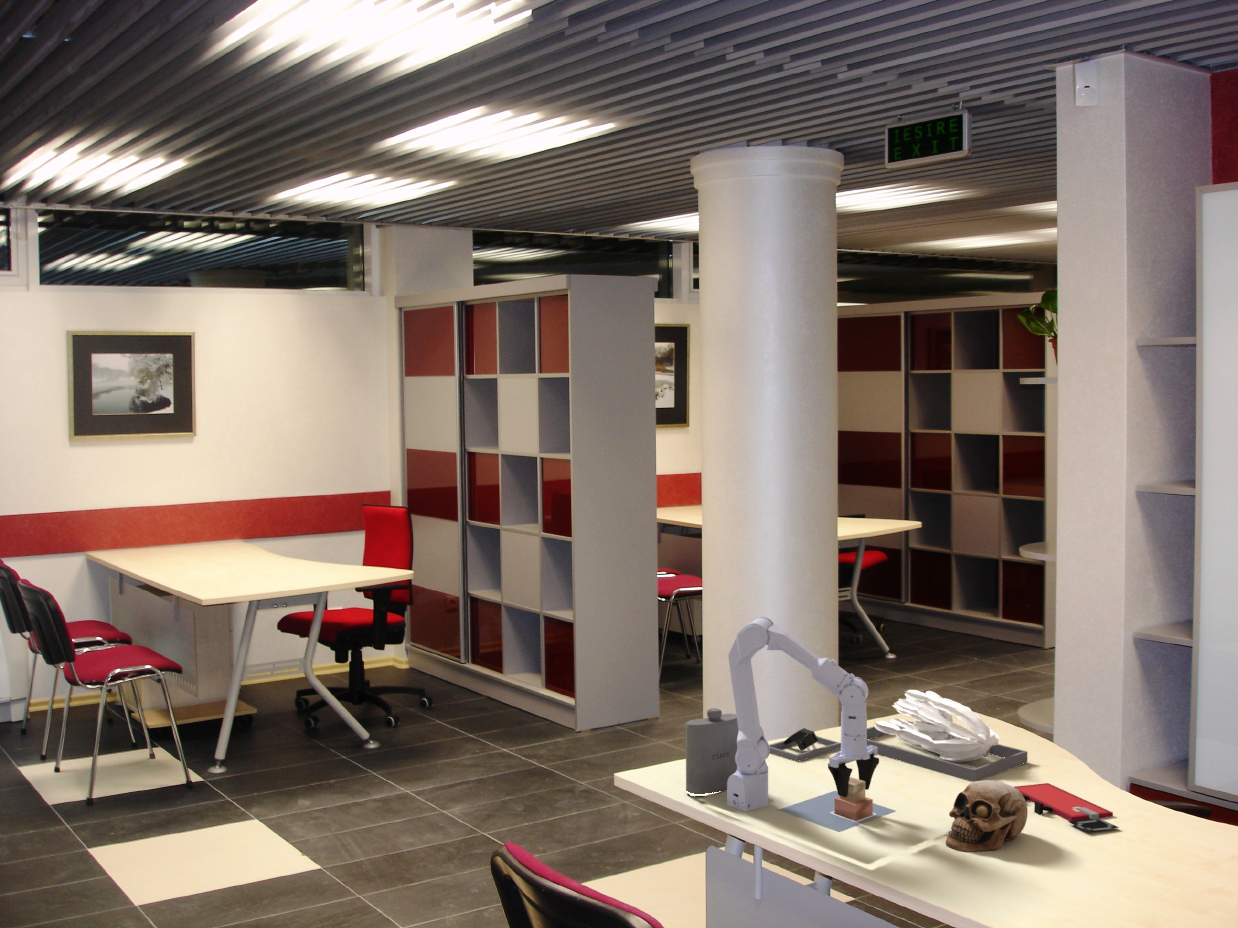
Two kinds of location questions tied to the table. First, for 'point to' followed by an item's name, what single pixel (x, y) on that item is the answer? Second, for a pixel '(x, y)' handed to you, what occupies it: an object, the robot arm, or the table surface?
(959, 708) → the white sculpture
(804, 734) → the power plug
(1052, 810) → the red board with handle
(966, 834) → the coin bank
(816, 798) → the board
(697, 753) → the flask
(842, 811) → the base block
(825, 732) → the table surface
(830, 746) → the frame
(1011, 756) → the grey tray
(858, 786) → the maple cube
